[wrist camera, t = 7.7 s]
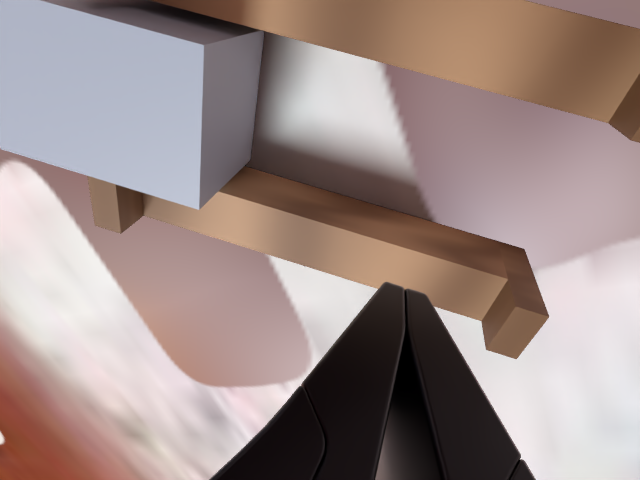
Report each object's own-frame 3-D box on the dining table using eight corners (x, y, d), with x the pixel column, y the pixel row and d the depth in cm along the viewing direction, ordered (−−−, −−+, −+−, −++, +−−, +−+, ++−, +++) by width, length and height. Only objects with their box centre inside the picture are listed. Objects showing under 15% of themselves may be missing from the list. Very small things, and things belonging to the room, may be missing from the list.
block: (264, 29, 15) (203, 45, 11) (250, 159, 18) (199, 210, 14) (76, -22, 16) (-48, -24, 12) (93, 113, 19) (0, 148, 15)
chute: (659, 35, 13) (751, 55, 9) (499, 288, 19) (516, 359, 15) (141, -94, 14) (41, -122, 10) (154, 182, 20) (94, 225, 17)
